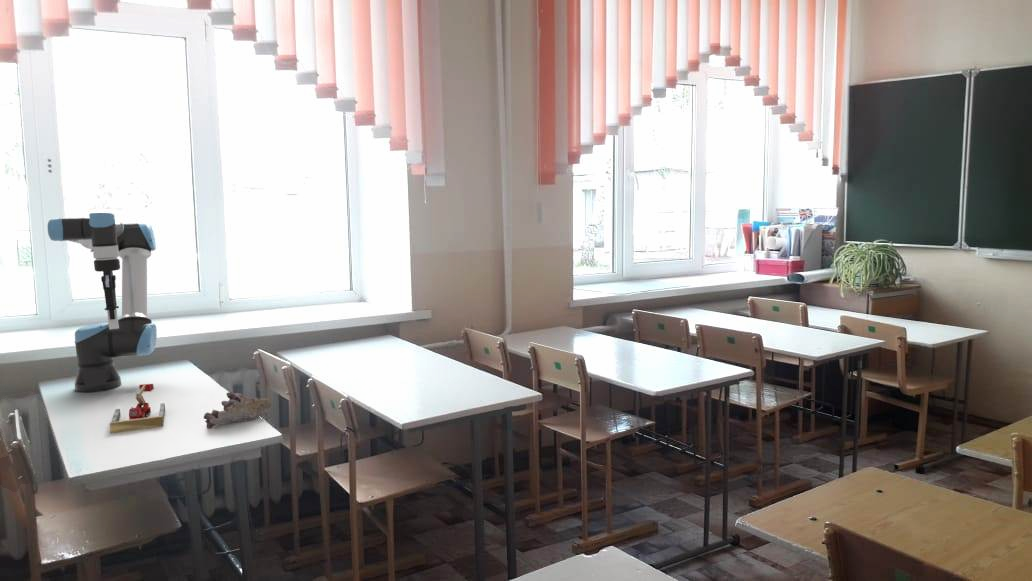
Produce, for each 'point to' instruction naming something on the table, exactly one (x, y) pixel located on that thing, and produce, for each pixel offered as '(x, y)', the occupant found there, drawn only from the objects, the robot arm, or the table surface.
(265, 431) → the table surface
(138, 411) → the toy fire truck
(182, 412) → the table surface
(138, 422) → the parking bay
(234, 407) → the mineral specimen
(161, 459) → the table surface
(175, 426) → the table surface
